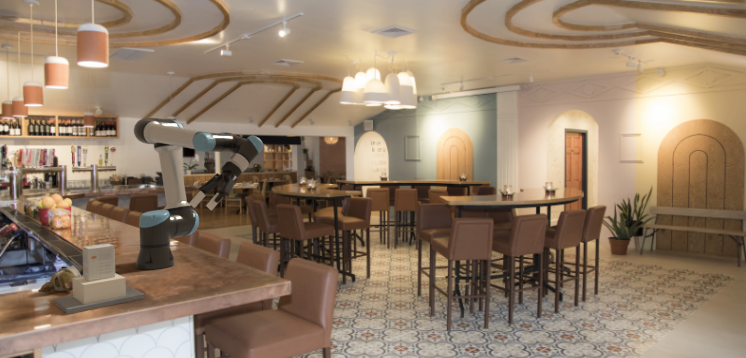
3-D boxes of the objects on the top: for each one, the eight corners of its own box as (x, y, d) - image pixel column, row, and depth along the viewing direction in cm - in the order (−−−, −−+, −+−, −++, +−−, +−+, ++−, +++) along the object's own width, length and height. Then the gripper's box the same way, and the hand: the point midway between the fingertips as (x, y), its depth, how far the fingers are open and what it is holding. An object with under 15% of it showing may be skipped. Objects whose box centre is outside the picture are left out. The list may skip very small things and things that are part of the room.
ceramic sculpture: (88, 260, 174) (69, 272, 160) (89, 283, 175) (71, 297, 161) (56, 261, 173) (34, 274, 158) (58, 284, 174) (36, 299, 159)
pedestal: (53, 303, 152) (52, 279, 152) (126, 289, 168) (125, 268, 168) (67, 314, 141) (67, 289, 141) (144, 298, 157) (143, 276, 157)
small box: (109, 274, 159) (109, 243, 159) (115, 277, 155) (115, 245, 155) (82, 278, 153) (81, 246, 153) (88, 281, 150) (87, 248, 149)
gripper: (257, 174, 186) (223, 215, 175) (225, 172, 203) (191, 210, 193) (245, 160, 181) (209, 202, 171) (213, 160, 199) (178, 198, 188)
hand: (200, 206), depth 182 cm, fingers open, 13 cm apart
